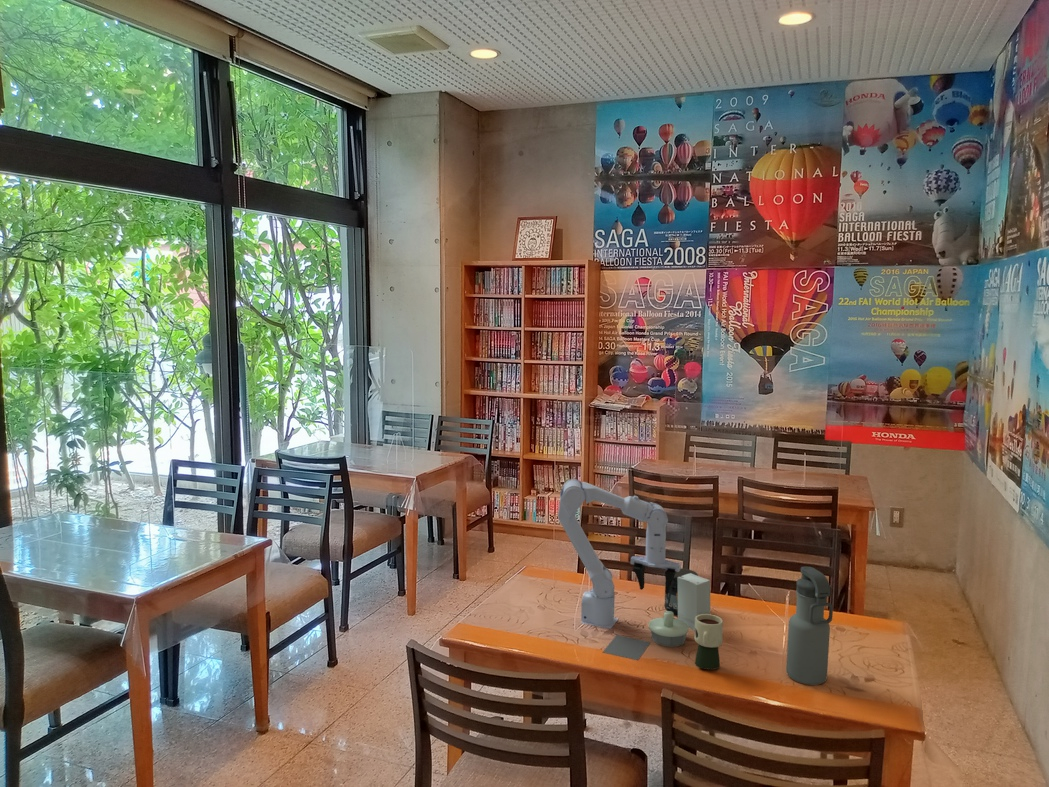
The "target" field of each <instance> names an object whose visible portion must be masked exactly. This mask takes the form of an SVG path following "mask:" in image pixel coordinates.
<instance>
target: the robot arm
mask: <svg viewBox="0 0 1049 787" xmlns="http://www.w3.org/2000/svg"><path fill="white" fill-rule="evenodd" d="M559 495H560V496H559V504H558V512H557V514H558V515H557V519H558V521H559V523H560V524H561V526H562V528H563V530H564V532H565V534H566V536H567V537H568V539H569V541H570V542H571V544H572V546H573V548H574V550H575V551H576V553H577V555H578V557H579V559H580V561H581V562H582V563H583V567H585V569H586V571H587V574H588V577H589V580H590V581H591V584H592V588H591V590H585V591H584V593H583V594H582V598H581V612H580V613H581V615H580V616H581V618H580V619H581V620H580V624H585V625H589V626H593V627H600V628H603V629H608V630H610V629H611V628H613V626H614V625H615V624H616V623H617V621H618V620H619V618H618V617H615V593H616V592H615V583H614V581H613V574H612V572H611V570H610V569H609V568H607V567H605V565H604V564H603V562H602V561H601V559H599V556H598V555H597V553H596V551H595V550H594V548H593V545H592V544H591V543H590V542H591V541H590V540H589V539H588V536H587V534H586V533H585V531H584V529H583V528H582V526H581V524H580V523H579V521H578V518H577V517H576V514H577V512H578V510H579V508H580V507H581V506H582V505H583V504H584V502H585V504H586V505H587V504H589V503H592V502H594V501H595V502H599V503H602V504H606V505H609V506H612V507H615V508H617V509H620V510H621V513H622V514H623V515H625V516H627V517H630V518H633V519H635V520H638V521H640V522H644V523H646V531H645V556H635V555H633V556H631V557H630V565H633V567H632V569H633V571H634V574H635V576H636V578H637V581H638V586H639V589H640V590H644V588H645V571H646V566H647V567H648V568H657V569H663V570H664V569H665V570H666V571H665V572H664V578H665V579H664V580H665V581H666V586H665V585H664V595H665V594H668V593H669V591H670V586H671V583H672V580H673V578H674V576H675V574H676V572H679V571H680V568H681V563H680V562H676V561H675V562H674V561H672V560H669V559H666V546H667V542H666V538H667V532H666V528H667V527H666V526H667V524H668V522H669V518H668V515H667V513H666V511H665V509H664V507H663V506H661V504H658V503H654V502H652V501H649V502H648V501H645V500H642V499H640V498H639V496H637V495H633V496H631V495H629V496H626V497H622V496H620V495H618V494H615V493H613V492H610V491H608V490H605V489H604V488H601V487H599V486H596V485H594V484H591V483H588V482H587V481H580V480H579V479H575V478H570V479H568V480H567V481H566V482H565V483H564V484H563V485H562V488H561V490H560V493H559Z"/></svg>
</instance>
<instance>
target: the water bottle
mask: <svg viewBox="0 0 1049 787" xmlns="http://www.w3.org/2000/svg"><path fill="white" fill-rule="evenodd" d="M800 574H801V578H799V579H797V580H796V588H795V589H796V590H795V594H796V603H795V604H796V606H795V607H796V608H795V613H794V614H792V615H791V616H790V617H789V619H788V629H787V630H788V631H787V647H786V651H787V652H786V665H785V671H786V674H787V676H788V677H789V678H790V679H791V680H793V681H795V682H797V683H800V684H803V685H806V686H807V685H808V686H819V685H821V684H823V683H825V682H826V681H827V678H828V666H829V652H830V651H829V650H830V648H829V647H830V636H831V635H830V634H831V626H830V623H831V622H832V621H833V614H834V613H833V612H834V606H833V604H832V603H831V602H828V601H827V600H828V598H829V597H830V596H831V587H830V582H829V581H828V579H827V576H826V575H825V574H824V573H823V572H821V571H820V570H818V569H816V568H815V567H812V566H801V567H800ZM825 607H828V618H827V619H825V617H824V615H825V612H824V611H825Z"/></svg>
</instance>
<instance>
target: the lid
mask: <svg viewBox="0 0 1049 787" xmlns="http://www.w3.org/2000/svg"><path fill="white" fill-rule="evenodd" d="M674 616H675V615H674V613H673V612H671V611H667V610H665V611H664V613H663V617H656V618H653V619H651V620H649V622H648V629H649V630H650V631H652V632H653V633H655V634H658V635H661V636H667V637H678V636H683V635H685V634H686V635H687V634H688V633H689V628H688V625H687V624H686V623H685V622H683V621H681V620H678V618H674Z"/></svg>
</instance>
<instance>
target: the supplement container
mask: <svg viewBox="0 0 1049 787" xmlns="http://www.w3.org/2000/svg"><path fill="white" fill-rule="evenodd" d="M690 573H691V574H694V575H696V576H699V574H698V573H697V572H696V571H695V570H692V569H689V568H682V567H680V571H679V572H676V574H675V576H674V578H673V580H672V583H671V586H670V591H669V593H668V594H665V593H664V605H663V607H664V610H665V611H671V612H673V613H674V616H678V581H677V578H678V577H680V576H683V575H686V574H690ZM665 586H666V580H665V582H664V587H665Z"/></svg>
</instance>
